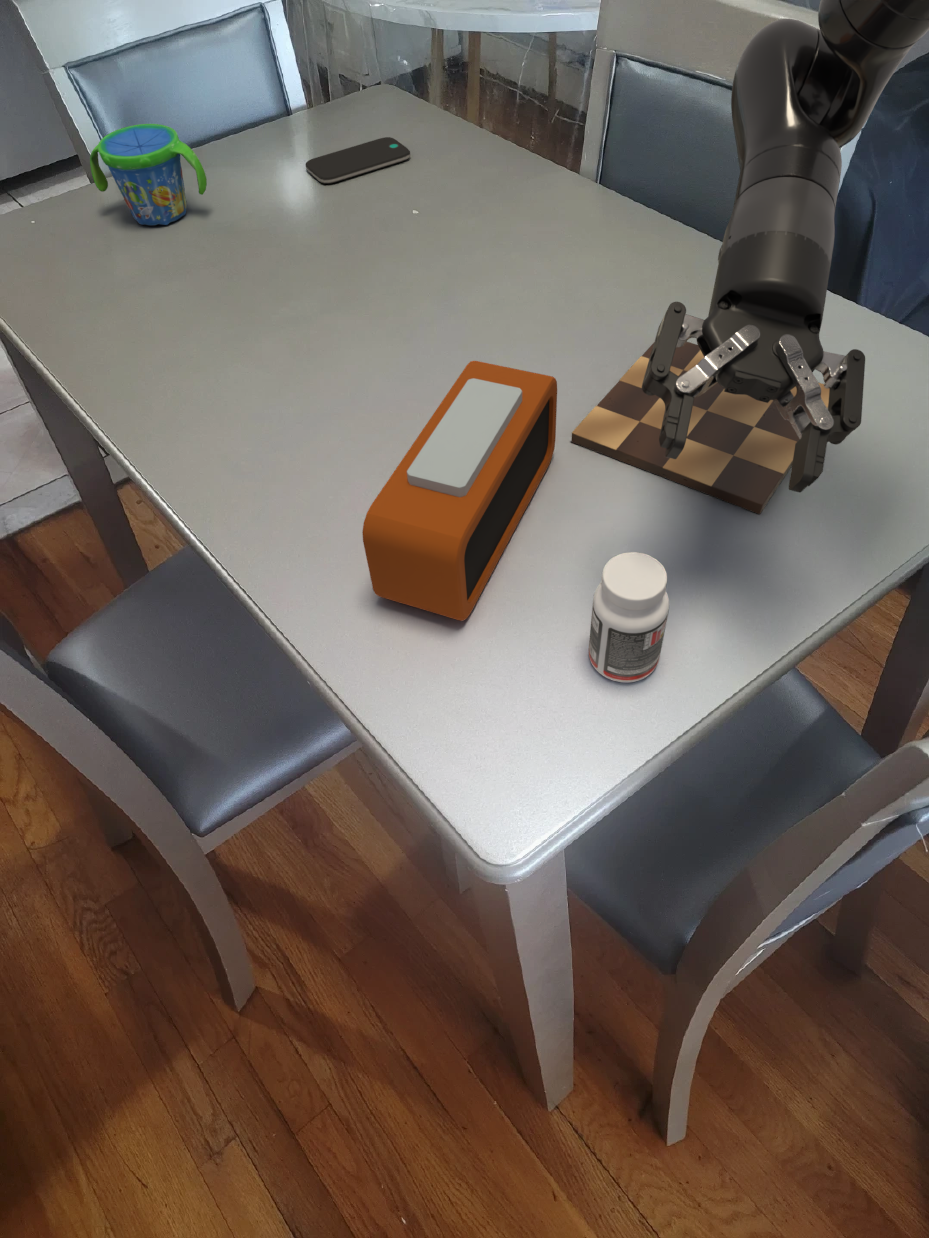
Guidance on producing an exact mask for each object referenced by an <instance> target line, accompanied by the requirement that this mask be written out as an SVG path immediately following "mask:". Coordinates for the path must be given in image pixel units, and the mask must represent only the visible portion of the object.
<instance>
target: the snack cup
mask: <svg viewBox="0 0 929 1238" xmlns="http://www.w3.org/2000/svg"><path fill="white" fill-rule="evenodd" d="M181 156H182V157H183V158H184V160H186V162H187V163H188V164H189V165H190V166H191V167H192V169H193V170H194V171H195V174H196V179H197V186H198V194H199V195H202V196H203V195H204V193H205V192H206V190H207V183H208V180H207V174H206V171H205V169H204V167H203V165H202V162H201V160H200V159H199V157H198V155H197V154H196V153H195V152H194V150H192V148H191V147H190V146H189V145H187V144H186V143H185V142H184V141H181V140H180V138H179V135H178V132H177V131H176V130H175V129H174V128H172V127H170V126H168V125H164V124H159V123H141V124H133V125H128V126H125V127H121V128H118V129H115V130H114V131H111V132H109V133H107V134H106V135H105V136H104V137H102V138H101V139H100V141H99V142H98V144H97V145H95V146H94V148H93V149H92V150H91V152H90V156H89V166H90V172H91V176H92V179H93V182H94V185H95V187H96V189H98V190H99V191H100V192H103V193H104V192H106V191H107V189H108V188H109V181H108V178H107V177H106V175H105V173H104V171H103V170H102V168H101V166H100V163H99V157H100V158H101V160H102V162H103V163H104V165H105V166H107V168H108V171H110V174H111V176H112V178H113V180H114V182H115V184H116V186H117V188H118V190H119V192H120V194H121V195H122V197H123V198H122V199H124V201H125V202H124V203H125V204H126V206H127V207H128V209H129V212H130V213H131V216H132V217H133V218H134V220H135V221H136V222H137V223H138V224H140V225H142V226H143V225H144V226H157V225H161V226H168V225H170V223H172V222H173V223H174V222H176V221H178V220H179V219H181V218H182V217H184V216H186V214H187V206H188V205H187V196H186V189H185V181H184V177H183V169H182V163H181Z"/></svg>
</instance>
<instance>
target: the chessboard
mask: <svg viewBox="0 0 929 1238" xmlns="http://www.w3.org/2000/svg"><path fill="white" fill-rule="evenodd" d="M653 345H654V342H653V343H652V344H651V345H649V347H648V348H647V349H646V350H645V352H644V353H642V355H641V356H639V357H638V359H637V360H636V361H635V362H634V363H633V364H632V365H631V366H630V367H629V369H628V370H627V371H626V372H625V373H624V374H623V375H622V376H621V378H620V379H619V380H618V381H617V382H616V384H615V385H614V386H613V387H612V388H611V389H610V390H609V391H608V392H607V393H606V395H604V397H603V398H602V399H601V400H600V401H599V402H598V403H597V404H596V405H595V406H593V408H592V409H591V411H589V413H588V414H587V415H586V416H585V417H584V418H583V419H582V420H581V422H580V423H578V425H577V426H576V427H575V428H574V429H573V430H572V432H571V439H570V440H571V443H572V444H575V445H578V446H581V447H583V448H586V449H589V450H591V451H594V452H596V453H599V454H602V455H604V456H607V457H609V458H612V459H615V460H617V461H620V462H623V463H625V464H628V465H630V466H633V467H635V468H638V469H641V470H644V471H646V472H648V473H651V474H653V475H656V476H659V477H661V478H664V479H667V480H669V481H672V482H674V483H677V484H680V485H682V486H685V487H688V488H690V489H692V490H695V491H698V492H701V493H703V494H706V495H709V496H711V497H713V498H716V499H719V500H722V501H723V502H726V503H729V504H732V505H733V506H736V507H739V508H742V509H744V510H746V511H750V512H752V513H755V514H757V515H761V514H762V512H763V511H764V509H766V506H767V505H768V503H769V502H770V500H771V498H772V497H773V496H774V494H775V493H776V491H777V490H778V488H779V487H780V485H781V483H782V482H783V480H784V479H785V477H786V476H787V474H788V473H789V471H790V470H791V469H792V463H793V456H794V450H795V444H796V443H797V442H798V440H799V437H798V435H797V434H796V432H795V430H794V428H793V426H792V425H791V423H790V421H789V420H785V419H783V417H782V416H781V414H780V412H779V410H778V409H777V407H776V405H775V403H774V401H773V400H770V401H769V402H768V403H766V402H762V401H758V400H756V399H754V398H752V397H750V396H748V395H740V394H731V393H728V392H724V389H725V388H724V387H722V386H721V385H720V384H719V383H717V384H715V385H714V386H713V387H711V388H710V389H709V390H707V391H706V392H705V393H703V394H702V395H701V396H699V397H695V398H694V402H693V407H692V413H691V418H690V423H689V428H688V433H687V438H686V443H685V446H684V448H683V450H682V452H681V453H680V454H679V456H678V457H677V459H672V458H668V457H665V454H666V448H663V447H660V442H659V436H660V432H661V427H662V422H663V417H664V412H665V404H664V402H663V400H662V399H661V398H659V397H658V396H656V395H652V396H650V395H647V394H645V393H644V392H643V390H642V383H643V379H644V376H645V373H646V369H647V366H648V362H649V359H650V355H651V352H652V348H653ZM703 358H704V356H703V354H702V352H701V350H700V348H699V346H698V344H697V343H694V342H689V341H687V342H686V343H685V345H684V346H682V347H677V348H676V350H675V353H674V357H673V360H672V364H671V367H670V371H671V372H673V373H674V374H676V375H678V376H679V377H681V376H682V375H683V374H685V373H686V372H688V371H689V370H690V369H692V368H693V367H694V366H696V365H697V364H698V363H699V362H700V361H701V360H702V359H703ZM818 383H819V385H820V387H821V399H822V400H823V402H824V404H825V406H826V407H827V409H828V403H829V390H830V388H829V389H827V388H825V387H824V383H822V382H819V381H818ZM790 391H791V392H792V394H793V396H795V395H796V393H797V389H796V386H795V387H794V388H793V389H792V390H790Z"/></svg>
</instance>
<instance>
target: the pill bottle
mask: <svg viewBox="0 0 929 1238" xmlns="http://www.w3.org/2000/svg"><path fill="white" fill-rule="evenodd" d="M667 583H668V574H667V571H666V569H665V567H664V565H663V564H662V563H661V562H660V561H659V560H658V559H656V558H655V557H653V556H651V555H649V554H646V553H643V552H637V551H632V552H631V551H629V552H623V553H619V554H617V555H615V556H613V557H612V558H610V559H609V560H608V561H607V562H606V563H605V564H604V567H603V570H602V573H601V581H600V582H599V584H598V586H597V587H596V589H595V591H594V593H593V599H592V605H591V606H592V607H591V616H590V617H591V618H590V629H589V638H588V639H589V640H588V658H589V661H590V663H591V665H592V666H593V668H594V669H595V671H597V672H598V674H600V675H601V676H603V677H604V678H606V679H607V680H611V681H614V682H618V683H635V682H638V681H641V680H643V679H645V678H647V677H648V676H650V675H651V674H652V673H653V672H654V671H655V670H656V668H657V666H658V664H659V661H660V658H661V652H662V647H663V642H664V637H665V631H666V626H667V622H668V616H669V611H670V598H669V595H668V593H667Z"/></svg>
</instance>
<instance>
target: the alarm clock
mask: <svg viewBox="0 0 929 1238" xmlns="http://www.w3.org/2000/svg"><path fill="white" fill-rule="evenodd" d="M557 407H558V381H557V379H556V377H554V376H553V375H547V374H542V373H538V372H533V371H529V370H523V369H518V368H513V367H508V366H504V365H499V364H493V363H489V362H483V361H481V360H479V361H478V360H471V361H469V362H468V363H467V364H466V366H465V367H464V369H463V370H462V372H460V374H459V376H458V377H457V378H456V380H455V381H454V384H453V385H452V386H451V387H450V389H449V390H448V392H447V393H446V395H445V396H444V398H443V399H442V401H441V402H440V403H439V405H438V407H436V409H435V411H434V412H433V414H432V416H431V417H430V418H429V420H428V421H427V422H426V424H425V426H424V427H423V428H422V430H421V431H420V433H419V434H418V436H417V437H416V439H415V440H414V442H413V443H412V444H411V446H410V447H409V449H408V450H407V452H406V453H405V455H404V456H403V457H402V459H401V460H400V462H399V463H398V466H397V467H396V468H395V470H394V471H393V472H392V474H391V476H390V477H389V478H388V480H387V481H386V483H384V486H383V487H382V488H381V489H380V491H379V493H378V494H377V496H376V497H375V499H374V500H373V501H372V503H371V505H370V506H369V508H368V509H367V512H366V515H365V517H364V520H363V523H362V524H363V525H362V543H363V548H364V552H365V557H366V562H367V568H368V572H369V577H370V582H371V587H372V590H373V592H374V594H375V596H377V597H380V598H382V599H387V600H389V601H393V602H396V603H400V604H403V605H406V606H410V607H413V608H416V609H419V610H423V611H427V612H430V613H433V614H437V615H439V616H444V617H446V618H450V619H453V620H456V621H461V622H462V621H465V620H466V619H468V617H469V616H470V614H471V613H472V611H473V609H474V607H475V606H476V604H477V603H478V600H479V598H480V597H481V594H482V593H483V591H484V589H485V587H486V585H487V583H488V581H489V579H490V577H491V576H492V574H493V572H494V570H495V568H496V566H497V564H498V562H499V560H500V559H501V557H502V555H503V553H504V551H505V549H506V548H507V545H508V544H509V542H510V539H511V538H512V536H513V534H514V532H515V530H516V528H517V526H518V524H519V523H520V521H521V519H522V517H523V516H524V513H525V511H526V510H527V507H528V506H529V504H530V502H531V500H532V498H533V496H534V494H535V492H536V491H537V488H538V487H539V485H540V483H541V481H542V479H543V477H544V475H545V473H546V472H547V470H548V468H549V466H550V464H551V462H552V458H553V456H554V452H555V447H556V434H557Z"/></svg>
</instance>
